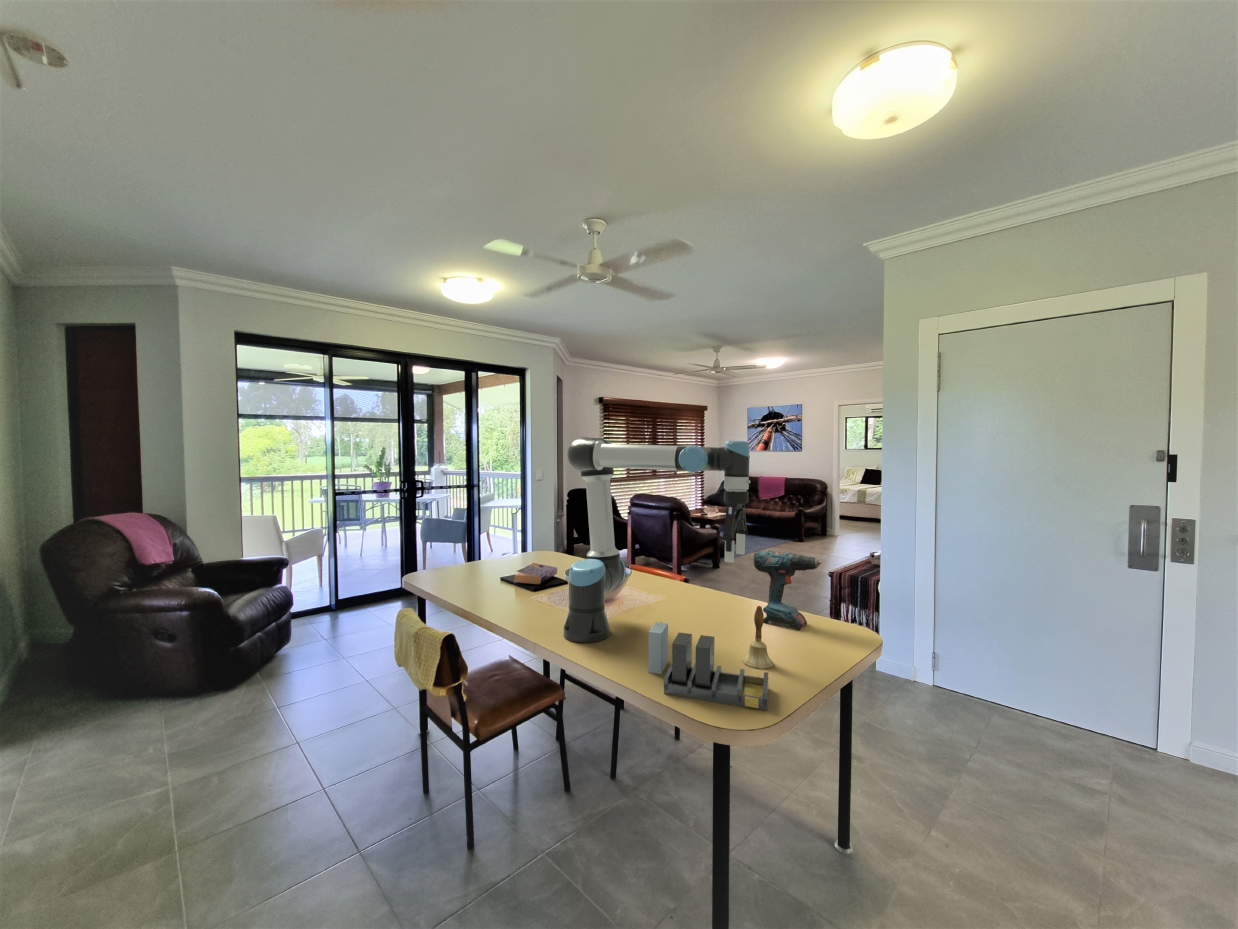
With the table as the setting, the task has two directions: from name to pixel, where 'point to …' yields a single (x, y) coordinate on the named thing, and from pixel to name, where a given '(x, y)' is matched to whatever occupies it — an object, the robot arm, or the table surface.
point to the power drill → (782, 585)
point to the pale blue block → (658, 648)
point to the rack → (711, 677)
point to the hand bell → (758, 646)
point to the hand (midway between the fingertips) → (735, 557)
